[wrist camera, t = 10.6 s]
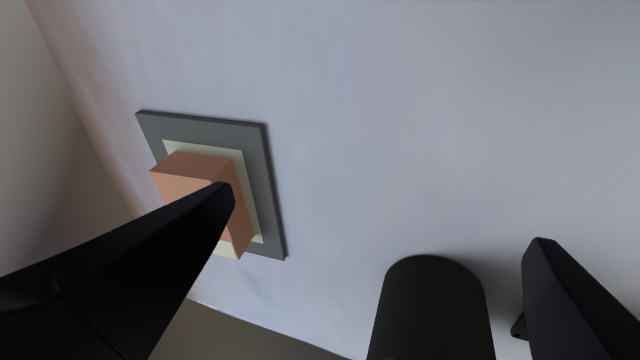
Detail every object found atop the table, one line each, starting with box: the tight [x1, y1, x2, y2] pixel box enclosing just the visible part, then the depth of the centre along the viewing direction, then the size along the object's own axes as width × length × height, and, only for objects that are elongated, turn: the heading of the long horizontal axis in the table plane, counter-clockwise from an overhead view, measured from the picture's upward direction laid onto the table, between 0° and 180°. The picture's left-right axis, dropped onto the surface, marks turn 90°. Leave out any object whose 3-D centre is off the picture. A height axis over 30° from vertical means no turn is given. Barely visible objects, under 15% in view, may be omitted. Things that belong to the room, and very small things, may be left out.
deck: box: [149, 151, 255, 260], centre depth 28 cm, size 10×6×3 cm, turn 4°
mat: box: [135, 111, 286, 261], centre depth 29 cm, size 16×12×1 cm
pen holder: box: [366, 256, 496, 360], centre depth 25 cm, size 9×9×10 cm
